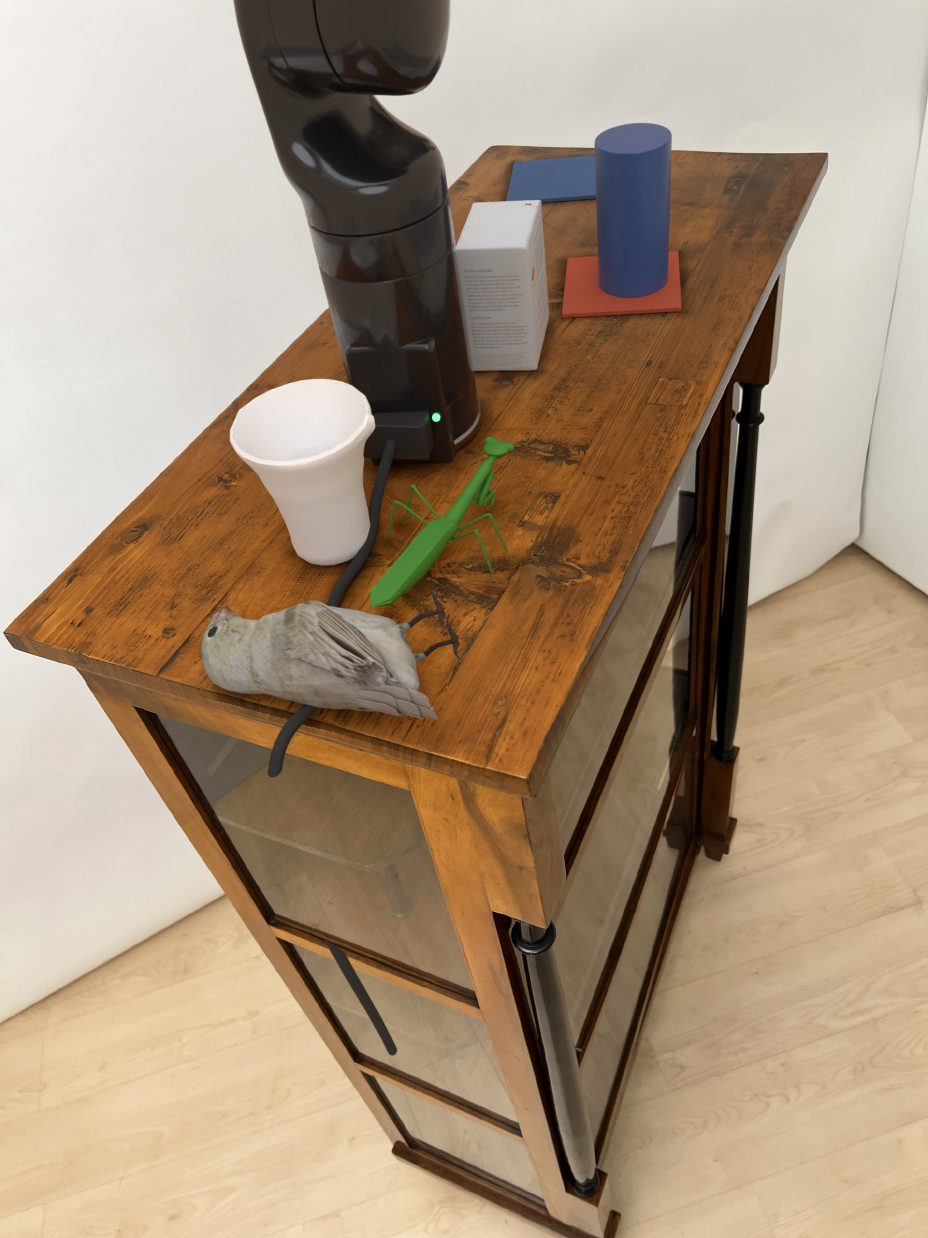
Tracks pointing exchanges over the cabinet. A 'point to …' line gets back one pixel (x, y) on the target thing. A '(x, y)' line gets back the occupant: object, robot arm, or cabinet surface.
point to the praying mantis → (439, 531)
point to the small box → (504, 284)
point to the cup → (311, 462)
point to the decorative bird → (322, 657)
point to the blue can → (633, 208)
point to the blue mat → (553, 179)
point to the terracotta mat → (593, 301)
